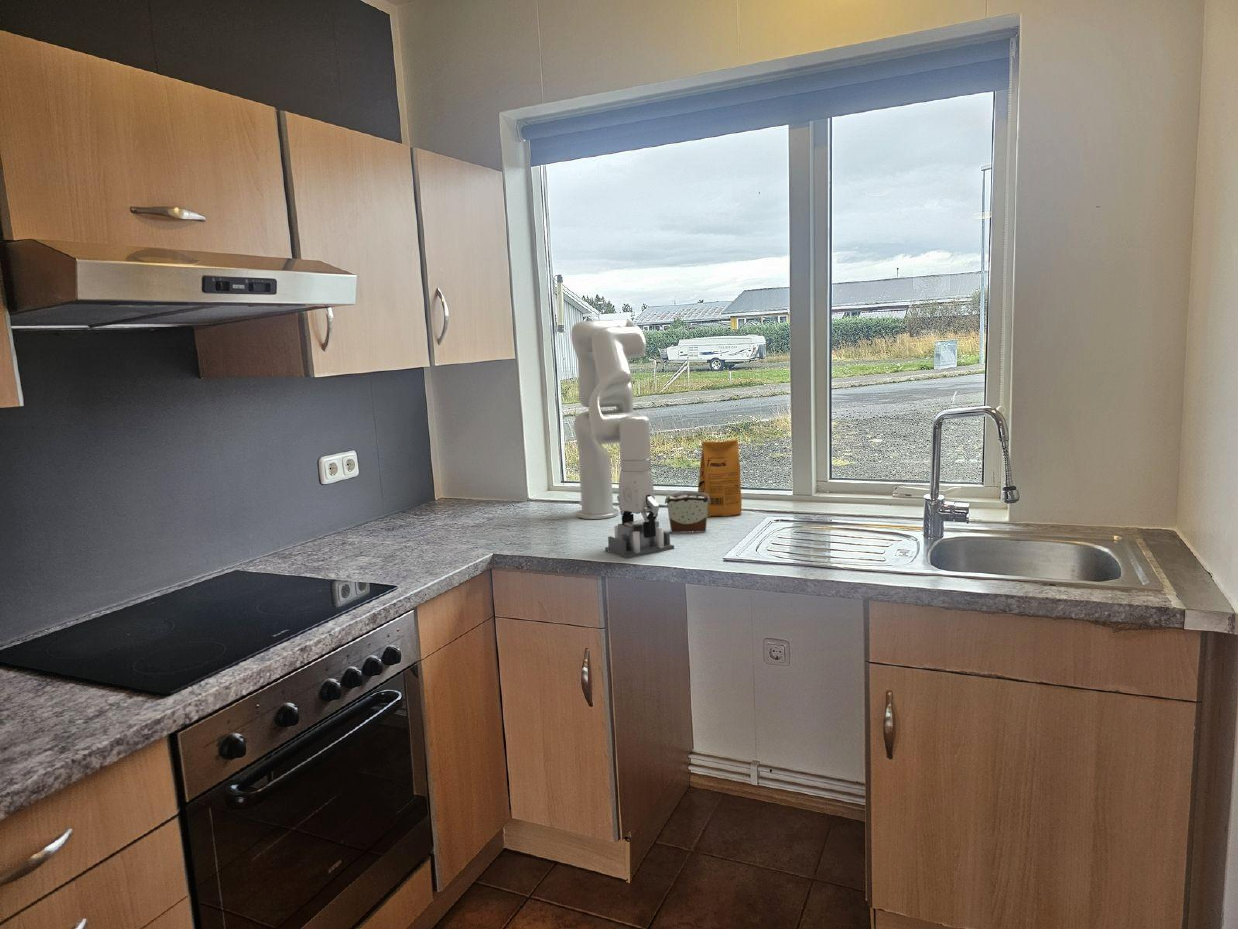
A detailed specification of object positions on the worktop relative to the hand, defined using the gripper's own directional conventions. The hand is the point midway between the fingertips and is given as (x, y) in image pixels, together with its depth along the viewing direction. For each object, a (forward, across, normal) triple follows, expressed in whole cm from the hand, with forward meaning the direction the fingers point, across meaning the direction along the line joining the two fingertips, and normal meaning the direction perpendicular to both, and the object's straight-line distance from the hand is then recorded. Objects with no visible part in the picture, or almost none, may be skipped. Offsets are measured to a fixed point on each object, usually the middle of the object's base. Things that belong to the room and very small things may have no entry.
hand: (638, 533), depth 201 cm
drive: (+3, 0, 0) cm, 3 cm away
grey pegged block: (+4, 0, 0) cm, 4 cm away
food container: (+4, -9, +22) cm, 24 cm away
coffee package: (+4, -19, +41) cm, 45 cm away
